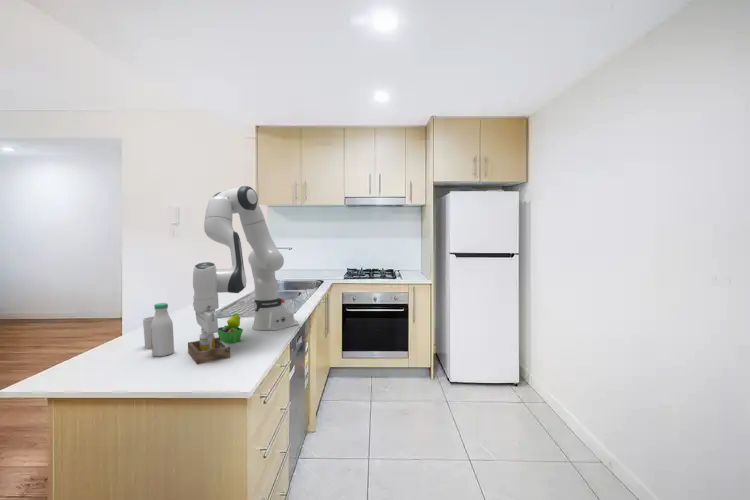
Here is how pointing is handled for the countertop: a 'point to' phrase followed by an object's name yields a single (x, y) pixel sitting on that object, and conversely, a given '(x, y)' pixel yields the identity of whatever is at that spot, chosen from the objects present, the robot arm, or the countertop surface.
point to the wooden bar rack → (208, 352)
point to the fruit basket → (231, 330)
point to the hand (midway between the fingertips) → (207, 339)
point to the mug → (147, 331)
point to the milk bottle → (162, 331)
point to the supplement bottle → (203, 341)
